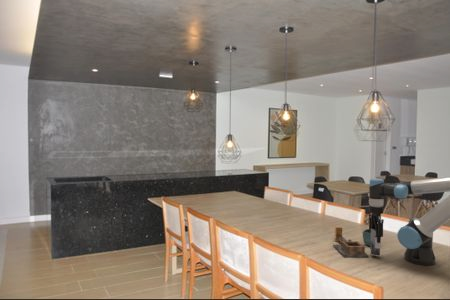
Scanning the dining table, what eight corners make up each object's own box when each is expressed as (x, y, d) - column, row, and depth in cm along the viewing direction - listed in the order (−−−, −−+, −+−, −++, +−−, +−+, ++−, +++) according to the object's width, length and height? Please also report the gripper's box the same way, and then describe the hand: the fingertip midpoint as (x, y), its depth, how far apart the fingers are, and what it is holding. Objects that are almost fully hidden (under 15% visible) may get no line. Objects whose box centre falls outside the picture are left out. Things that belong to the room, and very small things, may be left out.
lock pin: (340, 239, 223) (341, 226, 222) (352, 250, 202) (353, 236, 202) (334, 239, 223) (335, 226, 222) (345, 250, 202) (346, 236, 202)
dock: (355, 246, 210) (355, 237, 210) (368, 257, 191) (369, 247, 191) (333, 246, 210) (333, 237, 210) (344, 257, 191) (344, 247, 191)
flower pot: (366, 242, 220) (366, 228, 219) (380, 245, 214) (381, 231, 214) (361, 245, 213) (362, 231, 212) (376, 248, 207) (377, 234, 207)
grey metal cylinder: (377, 252, 195) (378, 228, 195) (381, 255, 190) (382, 230, 190) (369, 252, 195) (369, 228, 195) (372, 255, 190) (373, 230, 190)
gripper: (363, 202, 201) (362, 241, 202) (376, 209, 183) (376, 251, 184) (375, 202, 201) (375, 241, 202) (390, 209, 183) (389, 251, 184)
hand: (375, 246), depth 193 cm, fingers closed on grey metal cylinder, 5 cm apart
